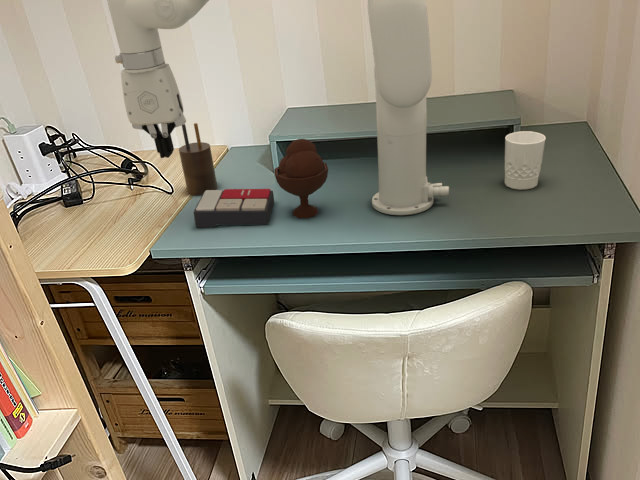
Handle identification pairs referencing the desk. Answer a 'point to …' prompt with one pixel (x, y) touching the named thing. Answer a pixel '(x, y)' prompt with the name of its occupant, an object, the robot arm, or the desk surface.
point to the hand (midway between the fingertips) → (166, 155)
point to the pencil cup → (197, 165)
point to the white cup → (523, 159)
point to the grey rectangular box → (234, 207)
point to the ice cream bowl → (302, 174)
